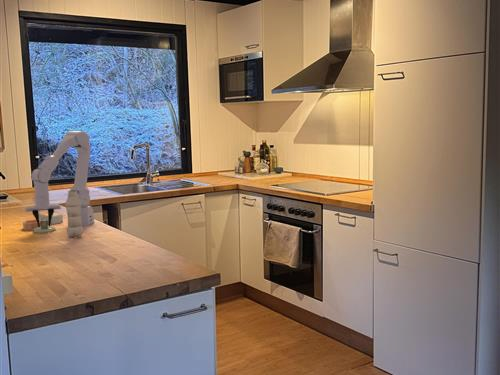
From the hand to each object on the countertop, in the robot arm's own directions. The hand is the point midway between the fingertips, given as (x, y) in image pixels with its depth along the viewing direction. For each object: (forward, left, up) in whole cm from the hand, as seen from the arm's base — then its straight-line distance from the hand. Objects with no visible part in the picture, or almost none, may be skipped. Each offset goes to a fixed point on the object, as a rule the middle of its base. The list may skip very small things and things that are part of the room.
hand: (44, 226), depth 234 cm
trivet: (0, 0, -3) cm, 3 cm away
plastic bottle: (-19, +7, -3) cm, 20 cm away
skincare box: (+14, -22, 0) cm, 26 cm away
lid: (0, 0, -2) cm, 2 cm away
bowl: (+9, -5, -3) cm, 11 cm away
